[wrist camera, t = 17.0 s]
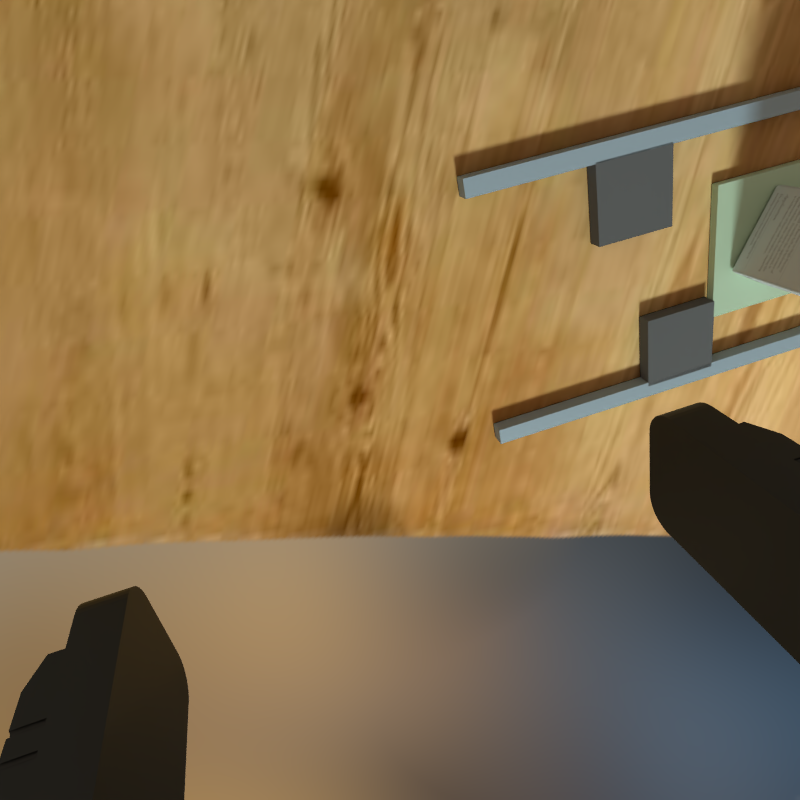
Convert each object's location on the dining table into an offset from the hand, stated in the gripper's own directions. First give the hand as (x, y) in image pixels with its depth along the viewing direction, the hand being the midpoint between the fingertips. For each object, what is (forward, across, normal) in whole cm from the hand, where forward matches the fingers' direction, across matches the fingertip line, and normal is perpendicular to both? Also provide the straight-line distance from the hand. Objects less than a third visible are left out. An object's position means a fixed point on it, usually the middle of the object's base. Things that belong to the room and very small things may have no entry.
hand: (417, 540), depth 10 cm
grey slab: (+28, -24, +15) cm, 40 cm away
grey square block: (+28, -21, +4) cm, 35 cm away
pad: (+28, -31, +9) cm, 43 cm away
